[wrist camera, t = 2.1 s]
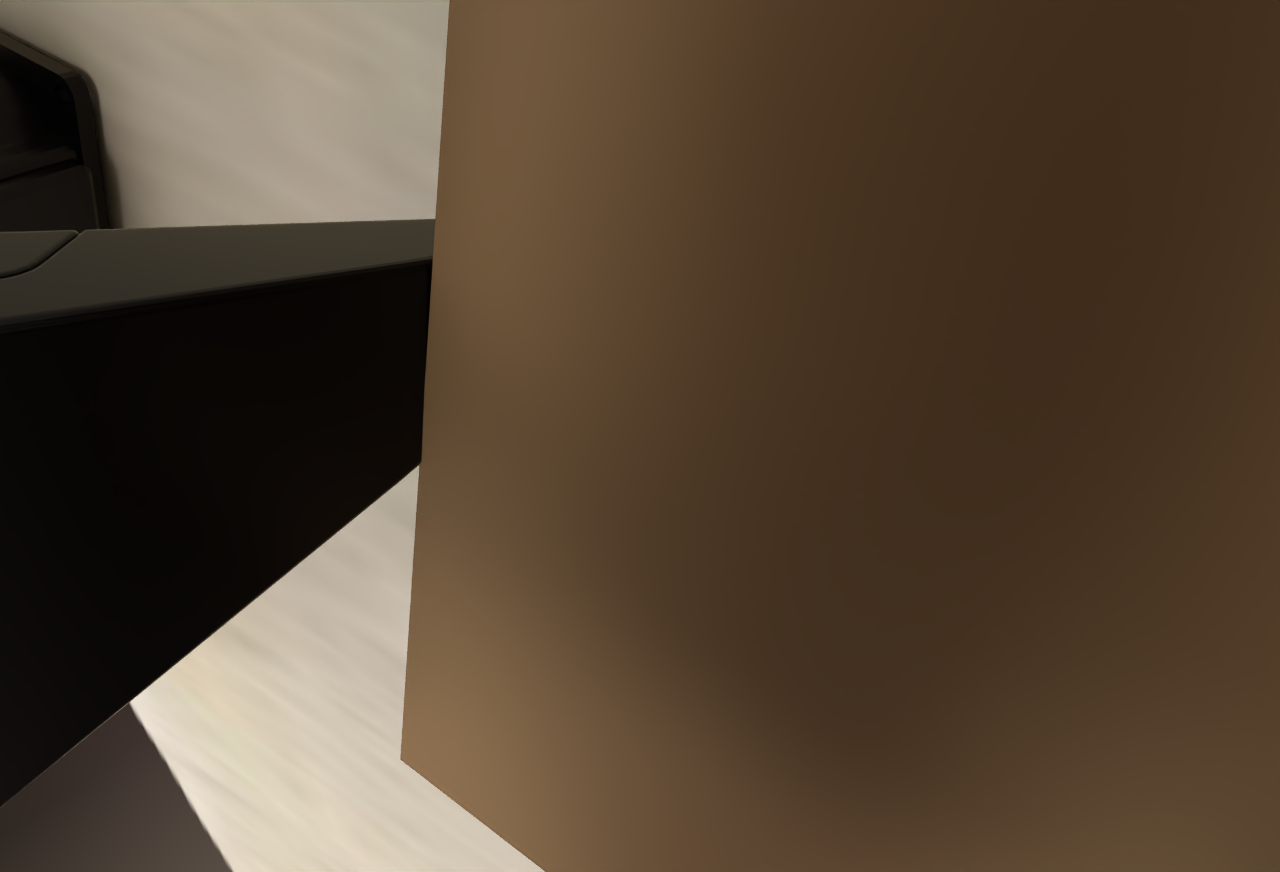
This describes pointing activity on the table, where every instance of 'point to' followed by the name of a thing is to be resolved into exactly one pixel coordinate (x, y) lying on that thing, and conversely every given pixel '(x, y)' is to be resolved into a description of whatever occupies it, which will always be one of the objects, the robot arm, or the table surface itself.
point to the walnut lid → (855, 436)
